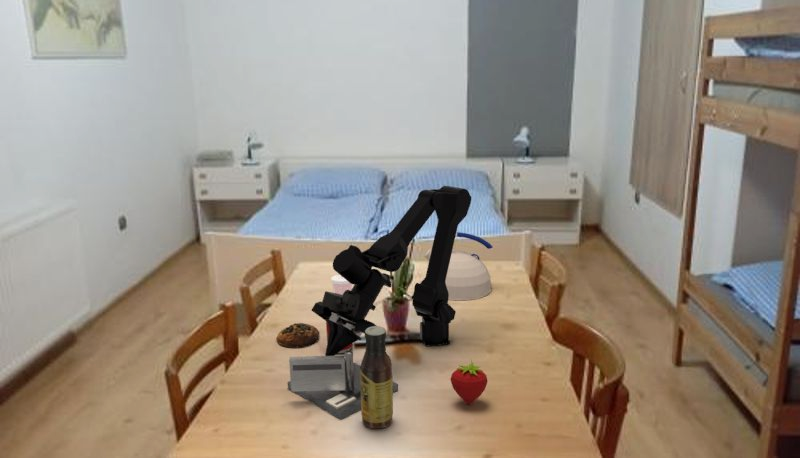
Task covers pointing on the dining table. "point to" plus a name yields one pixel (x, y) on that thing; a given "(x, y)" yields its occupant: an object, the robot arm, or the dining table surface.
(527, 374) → the dining table surface
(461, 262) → the kettle
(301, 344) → the bread roll
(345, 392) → the metal base plate
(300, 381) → the grey slotted panel
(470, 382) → the strawberry
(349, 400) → the strip
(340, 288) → the beverage cup
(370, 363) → the sauce bottle
